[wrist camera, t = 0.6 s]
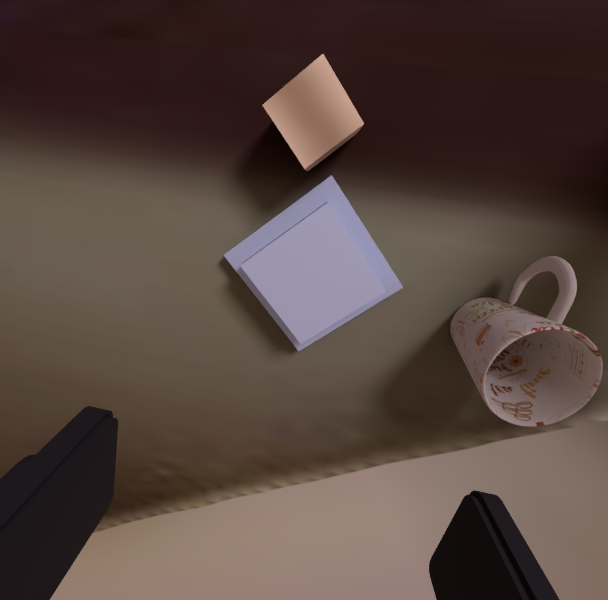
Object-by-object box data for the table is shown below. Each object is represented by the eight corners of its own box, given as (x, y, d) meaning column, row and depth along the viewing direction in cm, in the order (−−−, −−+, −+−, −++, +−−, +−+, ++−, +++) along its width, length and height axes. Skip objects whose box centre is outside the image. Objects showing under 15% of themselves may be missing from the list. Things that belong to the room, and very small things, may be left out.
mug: (425, 350, 35) (464, 412, 26) (475, 232, 31) (544, 255, 21) (501, 369, 35) (566, 438, 26) (560, 255, 31) (665, 287, 22)
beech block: (322, 80, 27) (322, 53, 22) (355, 135, 29) (364, 123, 23) (273, 119, 29) (262, 104, 23) (307, 171, 30) (304, 169, 24)
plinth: (331, 175, 30) (332, 174, 26) (399, 282, 33) (410, 296, 29) (227, 252, 32) (215, 261, 29) (299, 344, 35) (297, 364, 32)
